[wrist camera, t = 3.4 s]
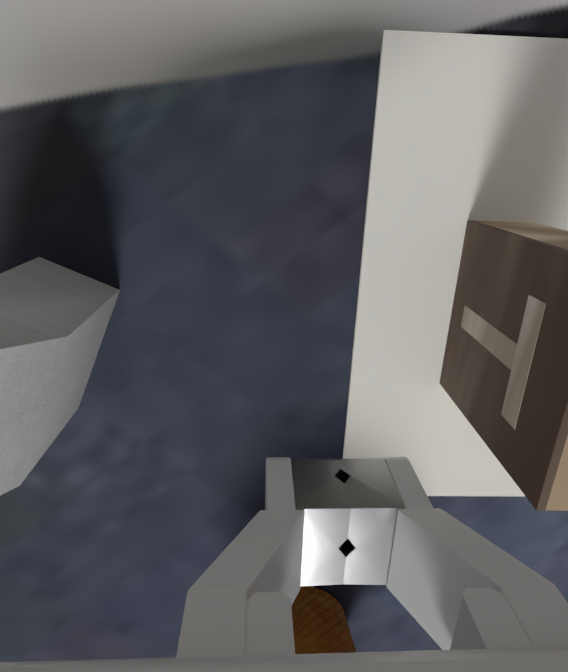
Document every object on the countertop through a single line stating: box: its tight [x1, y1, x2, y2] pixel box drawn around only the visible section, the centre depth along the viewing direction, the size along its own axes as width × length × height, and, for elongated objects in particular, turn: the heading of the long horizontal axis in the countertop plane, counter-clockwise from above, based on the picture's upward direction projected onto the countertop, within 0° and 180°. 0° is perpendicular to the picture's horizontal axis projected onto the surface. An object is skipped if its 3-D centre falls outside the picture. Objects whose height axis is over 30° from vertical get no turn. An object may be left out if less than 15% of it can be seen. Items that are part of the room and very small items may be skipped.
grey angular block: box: [0, 257, 120, 495], centre depth 17 cm, size 4×7×10 cm, turn 155°
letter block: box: [439, 220, 568, 510], centre depth 18 cm, size 3×8×9 cm, turn 178°
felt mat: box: [342, 30, 568, 496], centre depth 22 cm, size 20×22×1 cm
